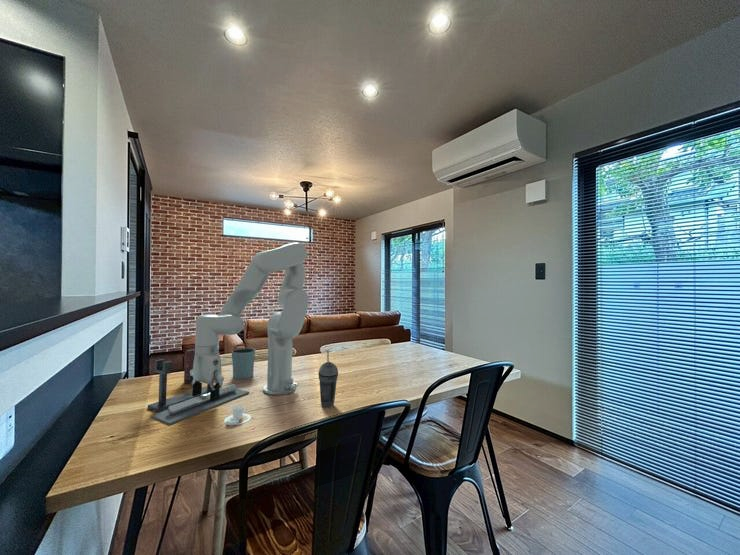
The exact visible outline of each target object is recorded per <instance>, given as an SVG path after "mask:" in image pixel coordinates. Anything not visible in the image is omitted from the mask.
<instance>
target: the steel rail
mask: <svg viewBox="0 0 740 555" xmlns="http://www.w3.org/2000/svg"><path fill="white" fill-rule="evenodd" d="M237 389H238V388H237V384H236V383H235V384H234V383H233V384H230V385H227V386H224V387H222V388H221V389H220V391H219V398H220V397H222V396H225V395H228V394H230V393H233V392H236V390H237ZM209 401H210V392H209V393H206V394H203V395H200V396H197V397H195V398H192V399H189V400H186V401H183V402H180V403H177V404H174V405H171V406H169V407H168V409H167V410H168V414H169V415H170V416H172V415H174V414H177V413H180V412H182V411H185V410H188V409H190V408H193V407H196V406H198V405H201V404H204V403H206V402H209Z"/></svg>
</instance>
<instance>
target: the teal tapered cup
mask: <svg viewBox="0 0 740 555" xmlns="http://www.w3.org/2000/svg"><path fill="white" fill-rule="evenodd" d="M255 355H256V349H255V348H249V347H245V348H243V347H242V348H236V349H233V350H231V360H232V377H233V379H235V380H247V379H251V378H253V377H254V371H255V370H254V365H255V358H256V356H255Z"/></svg>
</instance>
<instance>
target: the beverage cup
mask: <svg viewBox="0 0 740 555" xmlns="http://www.w3.org/2000/svg"><path fill="white" fill-rule="evenodd" d="M326 352H327V353H326V356H327V357H326V358H327V360H326V362H324V363H323V364H321V366H320V368H319V369H318V373H317V374H318V380H319V392H320V393H319V394H320V405H321V406H320V407H321V408H322V409H331V407H332V408H334V406H335V400H336V399H335V398H336V391H337V390H336V389H337V382H338V376H339V369H338V367H337V365H336V364H335V363H333V362H332V361H331V362H330V357H329V356H330V354H329V353H330V352H329V349H327V350H326Z"/></svg>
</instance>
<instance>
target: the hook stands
mask: <svg viewBox="0 0 740 555" xmlns="http://www.w3.org/2000/svg"><path fill="white" fill-rule="evenodd" d="M154 372H155V373H157V374H159V376H158V381H159V382H158V401H156V402H154V403H153V402H152V403H150V404H147V409H148V410H149V411H150V410H151V411H153V412H155V413H160V412H163V411H166V410H168V407H169V406H171V405H174V404H177V403H180V402H183V401H186V400H189V399H192V398H195V397H197V396H200V395H203V394H206V393H209V392H210V390H212V389H211V387H210V384H207V383H206V386H203V387H202V393H201V394H199V395H196V396H192V390H190V391H187V392H184V393H181V394H178V395H175V396H171V397H169V398H167V387H168V385H167V383H168V375H169V374H172V373H173V361H172V360H169V361H165V359H164V358H161V359H156V360H154ZM212 381H213V380H212ZM213 384H214V386H215V383H213ZM221 388H223V386H221ZM221 388H220V389H221Z"/></svg>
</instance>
